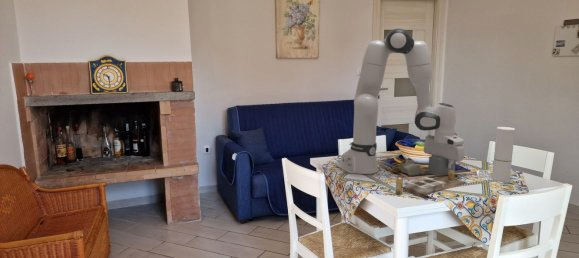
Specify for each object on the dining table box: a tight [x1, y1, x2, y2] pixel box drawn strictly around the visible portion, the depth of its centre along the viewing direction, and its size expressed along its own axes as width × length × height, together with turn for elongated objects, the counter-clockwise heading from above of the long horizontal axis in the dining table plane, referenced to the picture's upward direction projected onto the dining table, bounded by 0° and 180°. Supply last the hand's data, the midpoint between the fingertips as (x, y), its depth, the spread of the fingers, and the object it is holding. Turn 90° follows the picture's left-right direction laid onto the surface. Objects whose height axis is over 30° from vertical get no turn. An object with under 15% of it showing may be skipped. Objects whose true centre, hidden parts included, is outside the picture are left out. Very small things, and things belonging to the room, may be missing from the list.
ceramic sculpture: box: [390, 157, 422, 176], centre depth 196 cm, size 11×9×15 cm
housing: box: [427, 155, 457, 177], centre depth 193 cm, size 6×12×8 cm, turn 123°
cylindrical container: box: [491, 126, 516, 184], centre depth 182 cm, size 7×7×25 cm
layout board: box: [402, 170, 468, 199], centre depth 177 cm, size 12×28×6 cm, turn 123°
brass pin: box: [395, 176, 404, 196], centre depth 170 cm, size 3×3×7 cm
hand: (441, 166), depth 194 cm, fingers closed on housing, 6 cm apart
